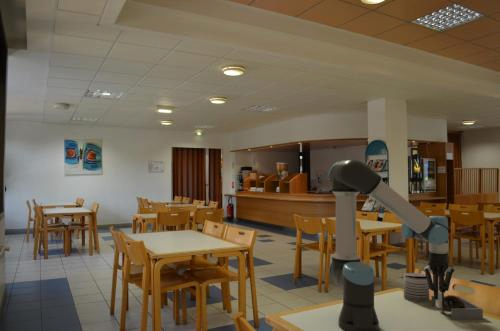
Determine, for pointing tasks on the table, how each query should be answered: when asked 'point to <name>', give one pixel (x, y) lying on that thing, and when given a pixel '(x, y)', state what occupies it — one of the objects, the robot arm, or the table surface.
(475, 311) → the box
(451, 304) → the brown ring with knob
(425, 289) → the can
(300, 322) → the table surface
